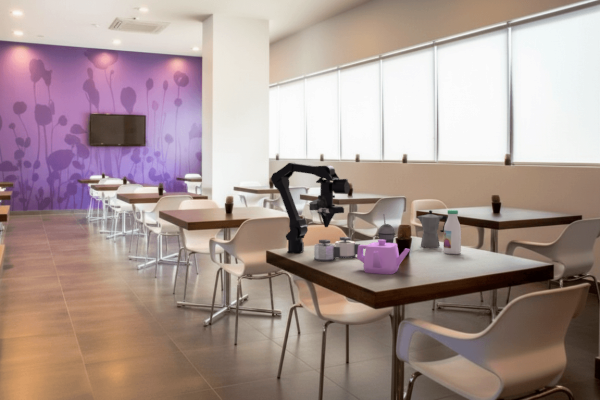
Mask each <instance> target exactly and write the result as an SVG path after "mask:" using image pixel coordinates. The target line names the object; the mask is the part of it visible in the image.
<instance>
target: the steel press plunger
mask: <svg viewBox="0 0 600 400" xmlns="http://www.w3.org/2000/svg"><path fill="white" fill-rule="evenodd" d="M321 243H323V245H326V243H329V244H331V239H319V240H318V244H321Z"/></svg>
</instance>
